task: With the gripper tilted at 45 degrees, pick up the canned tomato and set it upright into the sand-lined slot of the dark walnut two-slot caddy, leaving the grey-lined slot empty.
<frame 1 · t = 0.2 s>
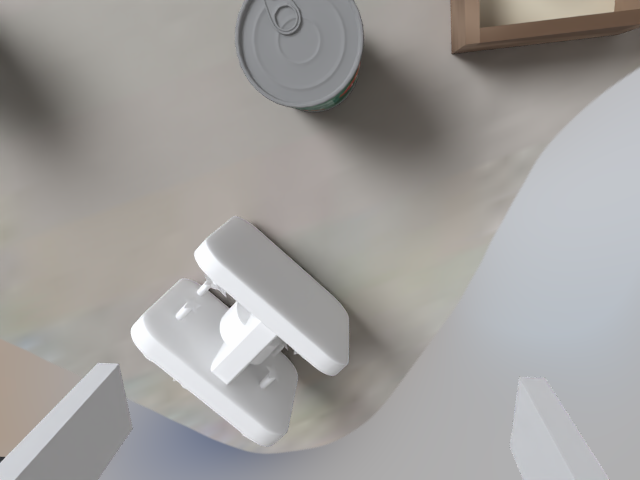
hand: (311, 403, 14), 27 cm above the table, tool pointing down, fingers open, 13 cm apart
cable organizer: (265, 297, 43), on the table
canned tomato: (313, 63, 37), on the table
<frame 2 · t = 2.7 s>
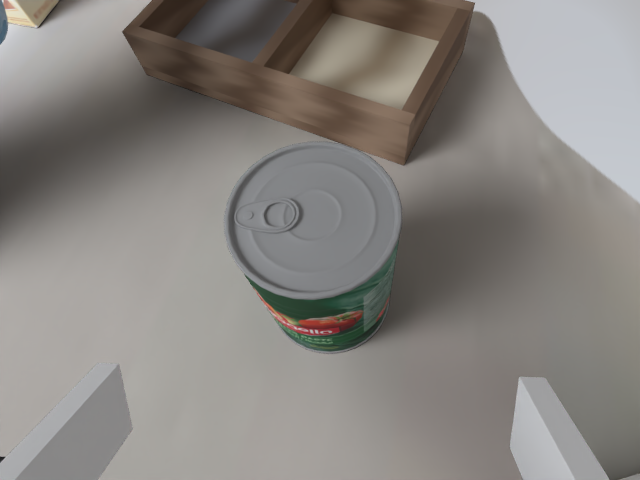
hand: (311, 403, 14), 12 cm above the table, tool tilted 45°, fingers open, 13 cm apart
slot caddy: (300, 63, 39), on the table
canned tomato: (329, 295, 29), on the table
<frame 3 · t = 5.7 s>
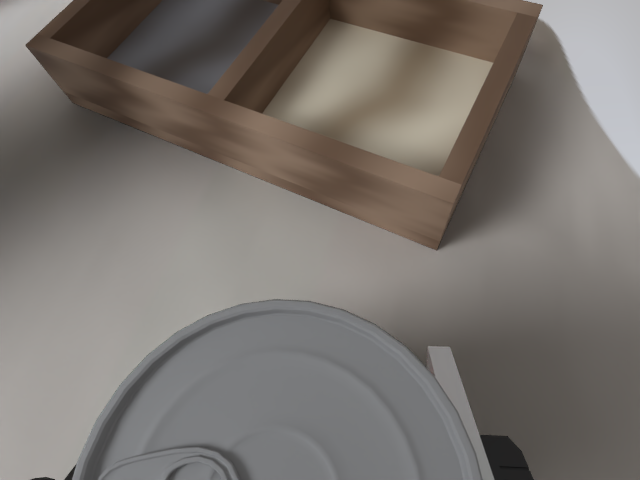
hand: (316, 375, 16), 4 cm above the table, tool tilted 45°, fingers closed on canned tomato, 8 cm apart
slot caddy: (284, 88, 27), on the table
canned tomato: (321, 477, 18), on the table, touching gripper
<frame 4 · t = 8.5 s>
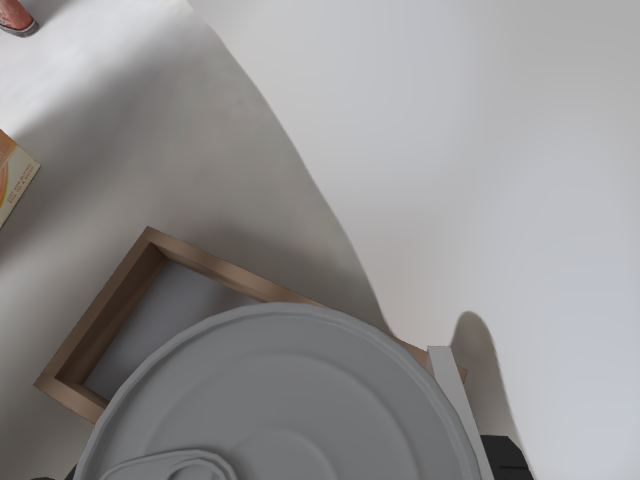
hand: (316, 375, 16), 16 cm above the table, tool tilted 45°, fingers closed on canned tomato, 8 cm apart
lighter: (15, 24, 54), on the table
slot caddy: (257, 387, 32), on the table
canned tomato: (321, 478, 18), point 12 cm above the table, touching gripper
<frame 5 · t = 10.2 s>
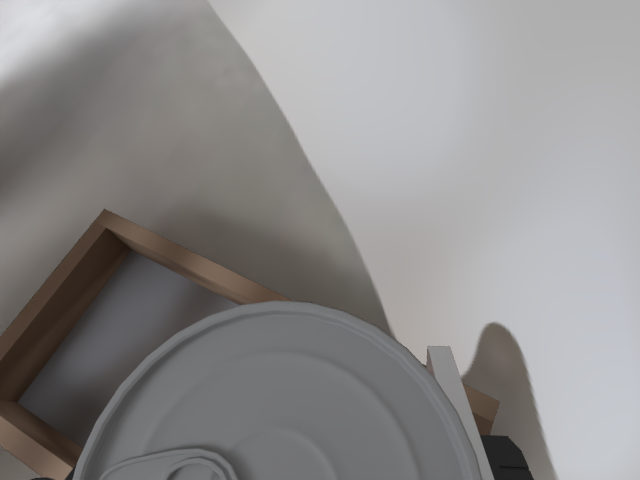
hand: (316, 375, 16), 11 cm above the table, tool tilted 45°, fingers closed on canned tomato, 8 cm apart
slot caddy: (232, 411, 26), on the table
canned tomato: (321, 478, 18), point 7 cm above the table, touching gripper
when the fingers open (6 cm above the table, at t = 11.7 s): canned tomato drops 1 cm, resting on slot caddy.
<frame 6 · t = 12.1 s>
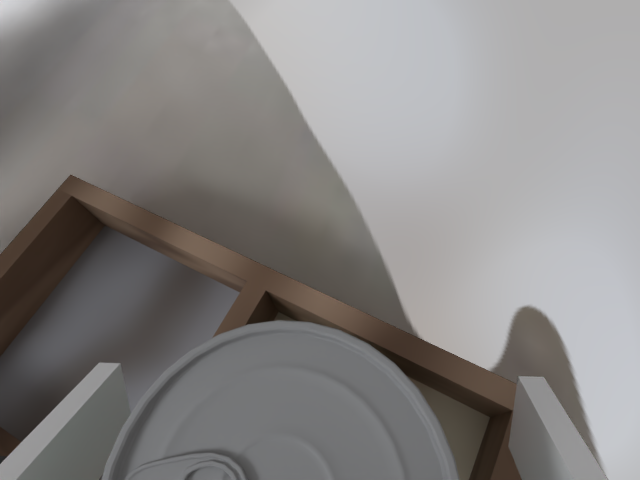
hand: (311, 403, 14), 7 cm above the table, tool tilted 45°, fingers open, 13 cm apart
slot caddy: (219, 410, 22), on the table
canned tomato: (321, 477, 19), point 1 cm above the table, touching slot caddy
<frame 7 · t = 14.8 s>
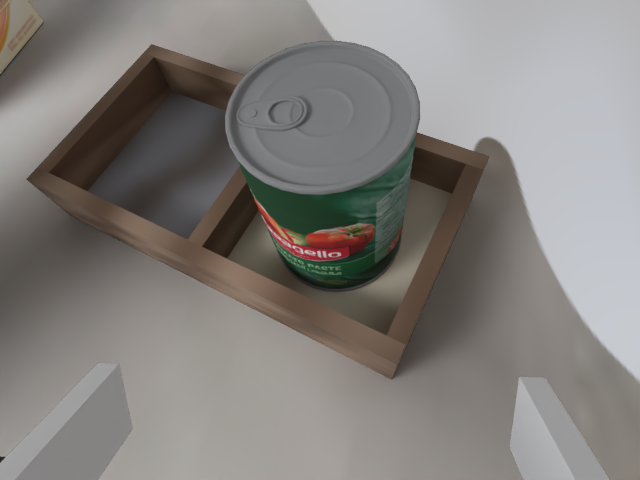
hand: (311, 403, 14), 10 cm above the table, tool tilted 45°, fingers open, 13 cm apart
slot caddy: (262, 206, 30), on the table
canned tomato: (337, 234, 27), point 1 cm above the table, touching slot caddy
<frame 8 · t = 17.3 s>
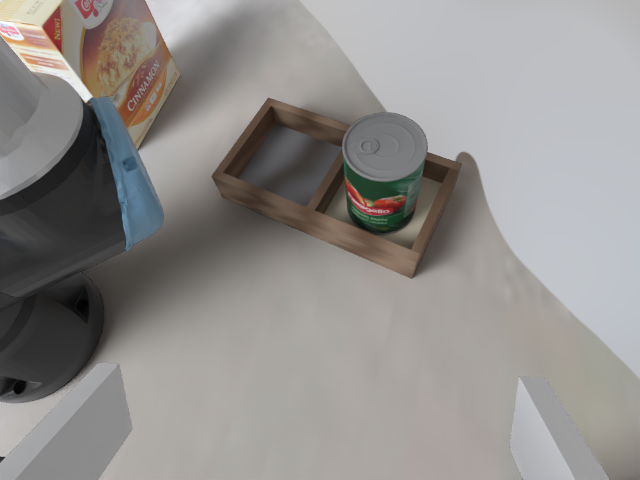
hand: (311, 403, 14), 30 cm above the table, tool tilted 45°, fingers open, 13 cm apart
slot caddy: (335, 191, 53), on the table
canned tomato: (380, 206, 50), point 1 cm above the table, touching slot caddy
coffeecake box: (139, 109, 62), on the table
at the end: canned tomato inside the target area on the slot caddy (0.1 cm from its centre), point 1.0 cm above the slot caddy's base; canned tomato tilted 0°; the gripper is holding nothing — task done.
